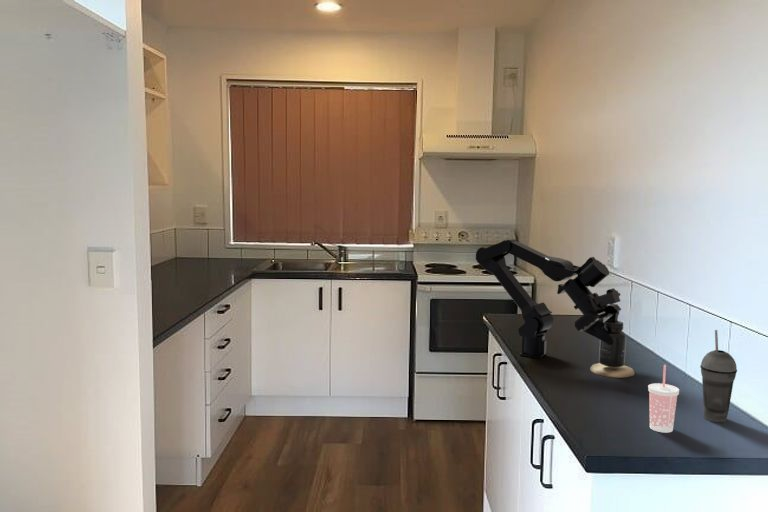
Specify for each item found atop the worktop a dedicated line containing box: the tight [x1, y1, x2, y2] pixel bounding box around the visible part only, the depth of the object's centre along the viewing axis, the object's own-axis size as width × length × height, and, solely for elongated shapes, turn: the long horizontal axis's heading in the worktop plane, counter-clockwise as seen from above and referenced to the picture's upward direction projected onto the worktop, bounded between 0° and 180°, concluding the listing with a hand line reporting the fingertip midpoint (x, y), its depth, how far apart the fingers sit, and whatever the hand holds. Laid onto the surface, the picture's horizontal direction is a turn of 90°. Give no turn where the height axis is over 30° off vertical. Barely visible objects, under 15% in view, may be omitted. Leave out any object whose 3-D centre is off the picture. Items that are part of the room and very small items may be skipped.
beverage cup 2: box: [699, 329, 738, 423], centre depth 140 cm, size 7×7×20 cm
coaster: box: [589, 362, 635, 379], centre depth 176 cm, size 12×12×1 cm
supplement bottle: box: [598, 320, 627, 367], centre depth 176 cm, size 7×7×12 cm
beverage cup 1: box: [647, 364, 680, 434], centre depth 135 cm, size 6×6×14 cm
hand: (617, 341), depth 175 cm, fingers closed on supplement bottle, 7 cm apart
